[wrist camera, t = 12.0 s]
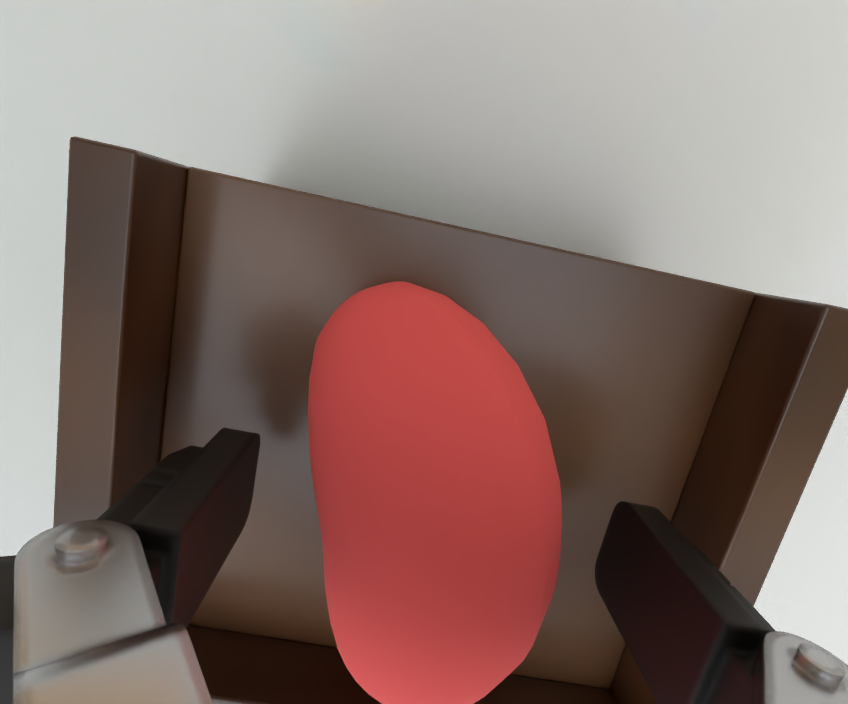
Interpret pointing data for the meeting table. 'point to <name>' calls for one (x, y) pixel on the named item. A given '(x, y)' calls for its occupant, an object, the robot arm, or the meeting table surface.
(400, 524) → the red rounded oblong piece
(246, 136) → the meeting table surface
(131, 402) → the rack
